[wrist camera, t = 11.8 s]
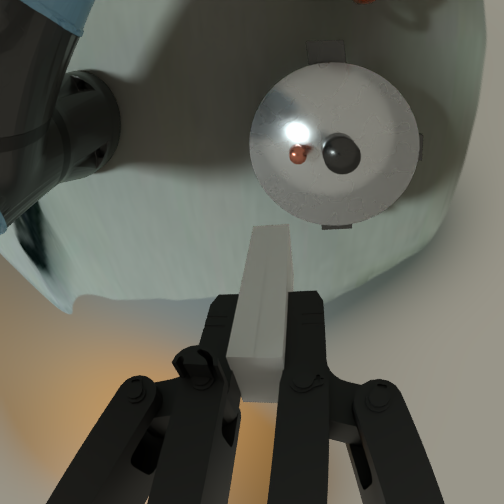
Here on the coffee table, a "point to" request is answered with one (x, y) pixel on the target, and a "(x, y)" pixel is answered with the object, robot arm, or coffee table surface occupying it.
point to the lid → (334, 143)
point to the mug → (363, 1)
